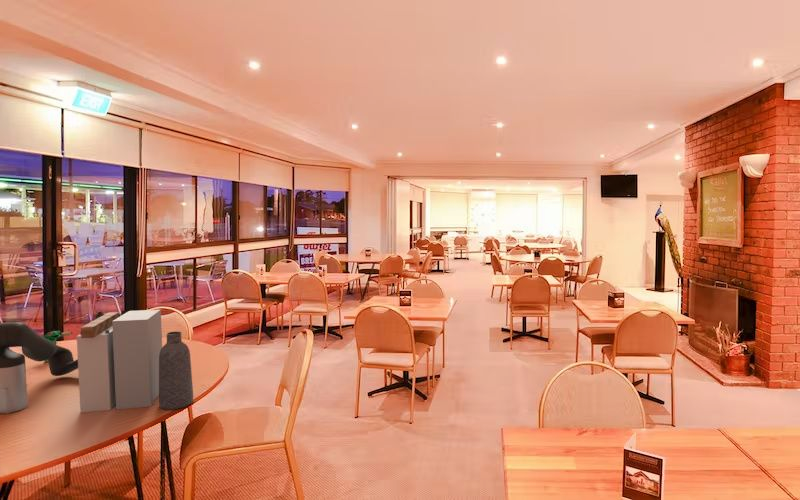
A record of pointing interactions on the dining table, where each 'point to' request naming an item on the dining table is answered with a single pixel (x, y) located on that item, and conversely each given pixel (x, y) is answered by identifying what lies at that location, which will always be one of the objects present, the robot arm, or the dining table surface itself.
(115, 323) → the stand
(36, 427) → the dining table surface
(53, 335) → the toy
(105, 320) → the batten
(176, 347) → the vase
